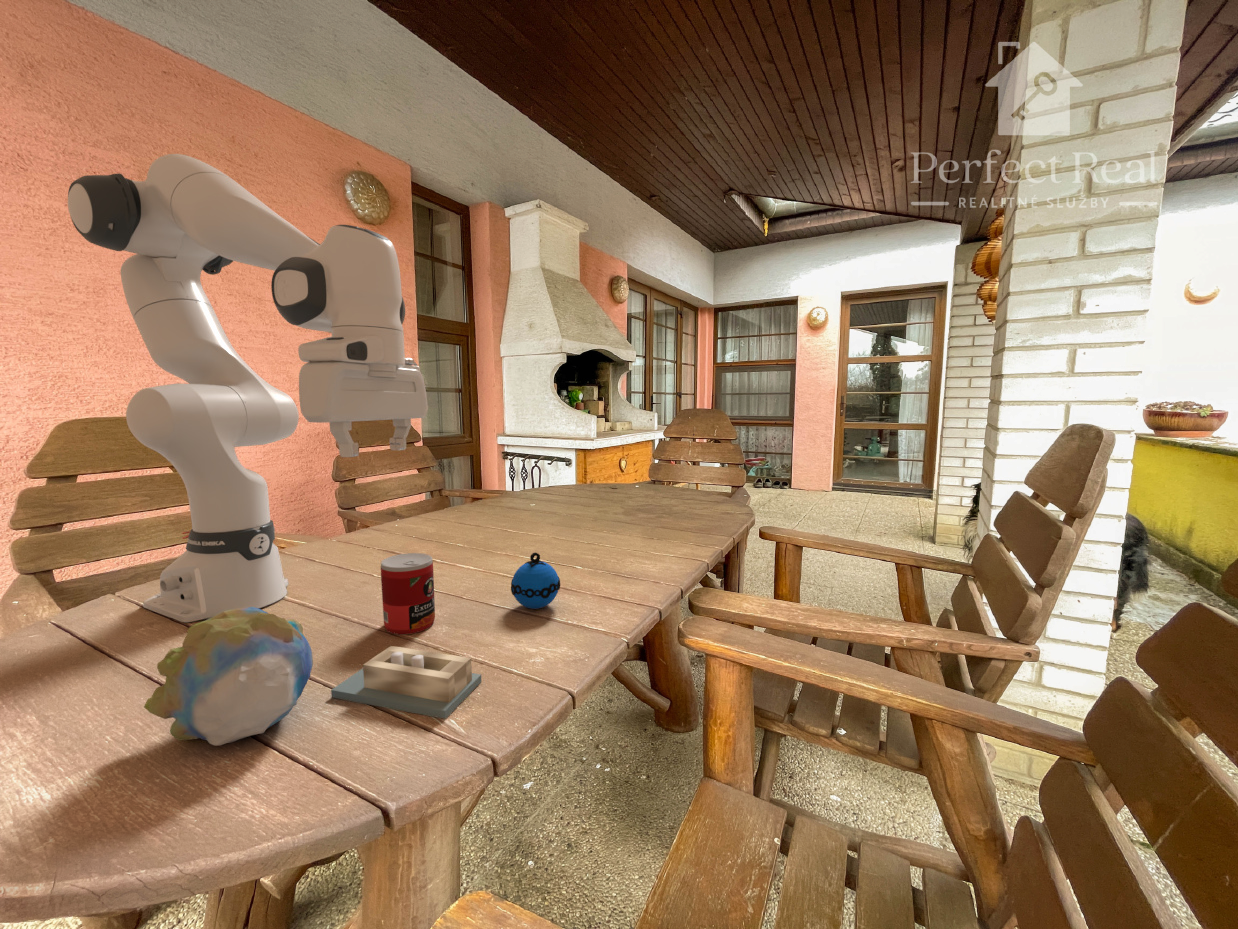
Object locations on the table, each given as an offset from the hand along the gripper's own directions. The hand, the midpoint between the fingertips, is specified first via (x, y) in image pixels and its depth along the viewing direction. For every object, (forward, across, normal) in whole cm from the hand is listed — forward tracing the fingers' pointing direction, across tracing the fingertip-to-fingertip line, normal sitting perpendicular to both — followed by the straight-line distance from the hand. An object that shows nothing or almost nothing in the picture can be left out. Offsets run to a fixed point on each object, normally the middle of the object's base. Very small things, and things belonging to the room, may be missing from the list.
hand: (375, 453), depth 70 cm
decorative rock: (+29, +19, -4) cm, 35 cm away
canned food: (+29, -8, -2) cm, 30 cm away
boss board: (+29, +8, +10) cm, 32 cm away
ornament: (+29, -20, +15) cm, 39 cm away
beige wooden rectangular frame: (+28, +8, +12) cm, 31 cm away
